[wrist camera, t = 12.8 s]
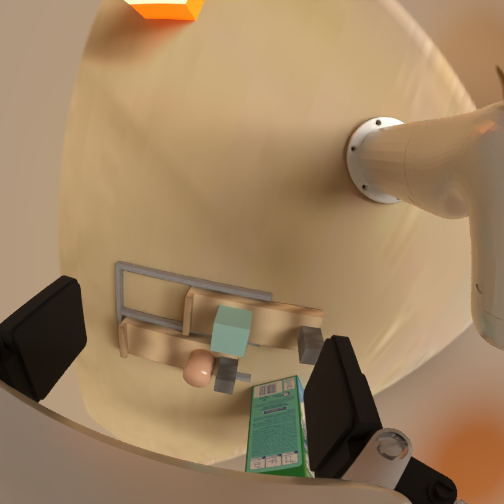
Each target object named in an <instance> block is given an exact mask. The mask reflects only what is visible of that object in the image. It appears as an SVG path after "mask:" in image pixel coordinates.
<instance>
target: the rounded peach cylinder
mask: <svg viewBox="0 0 504 504" xmlns="http://www.w3.org/2000/svg"><path fill="white" fill-rule="evenodd" d="M214 364H215V357H214V355H213V354H212V353H211V352H209V351H207V350H204V349H196V350H194V351H192V352H191V354H190V357H189V360H188V362H187V365H186V368H185V371H184V373H183V378H184V380H185V381H186V382H187V383H188V384H190V385H191V386H194V387H199V388H201V387H206V386H207V385H209V383H210V380H211V376H212V372H213V368H214Z"/></svg>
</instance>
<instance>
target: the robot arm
mask: <svg viewBox="0 0 504 504" xmlns="http://www.w3.org/2000/svg"><path fill="white" fill-rule="evenodd" d="M376 122H377V123H378V124H377V125H376ZM352 147H353V148H354V151H352V150H351V148H352ZM346 162H347V168H348V172H349V175H350V177H351V179H352V181H353V183H354V184H355V186H356V187H357V188H358V190H360V191H361V192H362V193H363V194H364V195H365V196H367V197H368V198H370V199H372V200H374V201H377V202H380V203H386V204H392V203H398V202H401V201H405V202H407V203H409V204H412V205H414V206H416V207H419V208H421V209H423V210H425V211H428V212H430V213H432V214H434V215H436V216H439V217H442V218H446V219H460V218H464V217H467V216H469V224H470V237H471V254H472V273H471V314H472V319H473V323H474V325H475V328H476V330H477V331H478V333H479V334H480V336H481V337H482V338H483V339H484V340H485V341H486V342H487V343H489V344H490V345H492V346H494V347H496V348H498V349H501V350H504V101H500V102H496V103H494V104H491V105H489V106H486V107H484V108H481V109H478V110H475V111H473V112H470V113H467V114H463V115H458V116H453V117H447V118H440V119H432V120H425V121H418V122H411V123H404V122H402V121H400V120H398V119H395V118H391V117H376V118H372V119H369V120H367V121H366V122H364V123H362V124H361V125H360V126H359V127H358V128H357V129H356V130H355V131H354V133H353V134H352V136H351V138H350V140H349V142H348V146H347V151H346ZM362 185H364V188H362ZM86 343H87V336H86V330H85V323H84V315H83V307H82V298H81V288H80V285H79V284H78V282H77V280H76V279H75V278H71V277H68V276H65V275H63V276H61V277H60V278H58V279H57V280H56V281H54V282H53V283H52V284H50V285H49V286H47V287H46V288H45V289H43V290H42V291H41V292H40V293H38V294H37V295H36V296H34V297H33V298H32V299H30V300H29V301H28V302H27V303H25V304H24V305H23V306H21V307H20V308H19V309H18V310H16V311H15V312H14V313H13V314H11V315H10V316H9V317H8V318H7V319H5V320H4V321H3V322H2V323H1V324H0V504H467V503H465V502H464V501H463V500H462V499H461V500H459V501H458V500H457V499H456V498H457V489H456V486H455V484H454V483H453V481H452V480H451V479H449V478H448V477H446V476H444V475H443V474H441V473H439V472H437V471H435V470H434V469H432V468H430V467H428V466H427V465H425V464H424V463H422V462H420V461H419V460H417V459H415V458H414V457H412V456H411V455H412V451H413V449H412V444H411V441H410V439H409V438H408V437H407V436H406V435H405V434H404V433H402V432H401V431H399V430H396V429H392V428H384V429H383V427H382V424H381V421H380V418H379V415H378V412H377V408H376V406H375V403H374V400H373V397H372V394H371V391H370V388H369V385H368V382H367V379H366V377H365V375H364V374H362V373H361V370H360V367H359V364H358V361H357V359H356V356H355V353H354V350H353V348H352V345H351V342H350V340H349V338H348V337H344V336H337V335H333V336H332V337H331V338H330V339H329V338H327V339H326V340H325V342H324V345H323V347H322V350H321V352H320V355H319V357H318V360H317V362H316V364H315V367H314V369H313V371H312V374H311V376H310V378H309V381H308V383H307V385H306V387H305V390H304V394H303V401H304V411H305V422H306V433H307V444H308V456H309V468H310V471H311V472H314V474H315V478H311V477H292V476H279V475H268V474H259V473H251V472H243V471H236V470H230V469H223V468H218V467H213V466H208V465H203V464H198V463H193V462H189V461H185V460H181V459H177V458H173V457H169V456H166V455H162V454H159V453H155V452H152V451H149V450H145V449H142V448H139V447H136V446H133V445H130V444H127V443H125V442H122V441H119V440H116V439H114V438H111V437H108V436H106V435H103V434H101V433H99V432H96V431H94V430H92V429H89V428H87V427H85V426H82V425H80V424H78V423H76V422H74V421H72V420H70V419H67V418H65V417H63V416H61V415H59V414H57V413H56V412H54V411H52V410H50V409H48V408H46V407H44V406H42V405H41V404H39V403H38V402H39V401H40V400H43V399H44V398H45V397H46V396H47V395H48V393H49V392H50V391H51V389H52V388H53V386H54V385H55V384H56V383H57V381H58V380H59V379H60V377H61V376H62V375H63V374H64V372H65V371H66V370H67V368H68V367H69V366H70V365H71V363H72V362H73V361H74V360H75V358H76V357H77V356H78V355H79V353H80V352H81V351H82V350H83V349H84V347H85V346H86Z"/></svg>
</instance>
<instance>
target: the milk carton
mask: <svg viewBox="0 0 504 504" xmlns="http://www.w3.org/2000/svg"><path fill="white" fill-rule="evenodd" d="M303 394H304V390H303V388H302V386H301V383H300V381H299V379H298V376H293V377H290V378H286V379H282V380H278V381H274V382H270V383H266V384H261V385H257V386H253V387H252V397H251V409H250V420H249V432H248V443H247V455H246V466H245V472H251V473H259V474H268V475H279V476H292V477H311V478H315V474H314V472H311V471H310V468H309V456H308V444H307V433H306V422H305V411H304V401H303Z"/></svg>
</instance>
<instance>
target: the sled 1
mask: <svg viewBox="0 0 504 504" xmlns="http://www.w3.org/2000/svg"><path fill="white" fill-rule="evenodd" d="M118 335H119V346H120V356H121V357H123V358H126V357H127V355H128V353H130V354H133V355H136V356H140V357H143V358H146V359H150V360H153V361H157V362H161V363H164V364H168V365H172V366H176V367H180V368H184V369H185V368H186V365H187V362H188V360H189V357H190V354H191V352H192V351H194V350H196V349H204V350H207V351H209V352H211V353H212V354H213V355H214V357H215V364H214V368H213V372H212V375H215V376H216V379H215V385H214V391H217V392H222V393H227V394H232V393H233V389H234V384H235V379H236V372H237V365H238V359H239V356H236V355H230V354H225V353H220V352H216V351H211V350H210V347H211V340H212V337H209V336H204V335H200V334H195V333H191V332H190V333H189V336H186V335H182V330H178V329H174V328H170V327H166V326H162V325H158V324H154V323H151V322H147V321H143V320H139V319H136V318H132V317H129V316H126V317H125V319H124V320H123V321H122V323H121V324H120V325H119V326H118Z"/></svg>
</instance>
